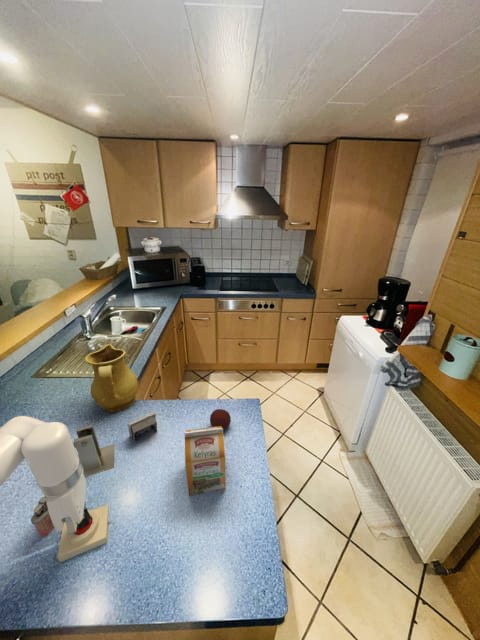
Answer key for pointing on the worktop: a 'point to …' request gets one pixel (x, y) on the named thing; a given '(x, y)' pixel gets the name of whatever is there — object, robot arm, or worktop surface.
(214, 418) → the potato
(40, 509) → the lighter
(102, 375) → the pitcher
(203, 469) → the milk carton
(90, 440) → the bracket
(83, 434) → the lever
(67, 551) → the control box
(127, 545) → the worktop surface
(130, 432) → the electrical switch
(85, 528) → the button
